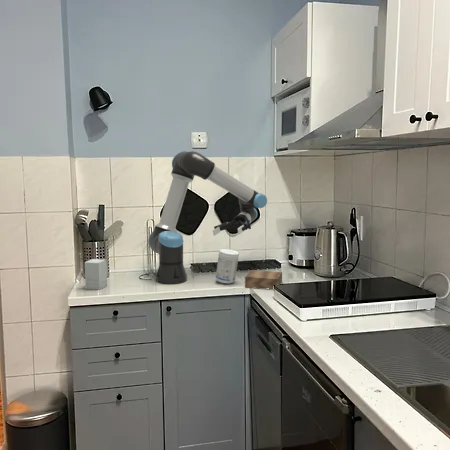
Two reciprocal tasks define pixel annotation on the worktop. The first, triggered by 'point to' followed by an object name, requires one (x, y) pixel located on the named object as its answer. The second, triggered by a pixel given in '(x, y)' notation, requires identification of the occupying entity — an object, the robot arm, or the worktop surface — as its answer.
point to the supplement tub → (227, 266)
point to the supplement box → (95, 274)
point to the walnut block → (262, 279)
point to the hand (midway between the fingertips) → (226, 232)
